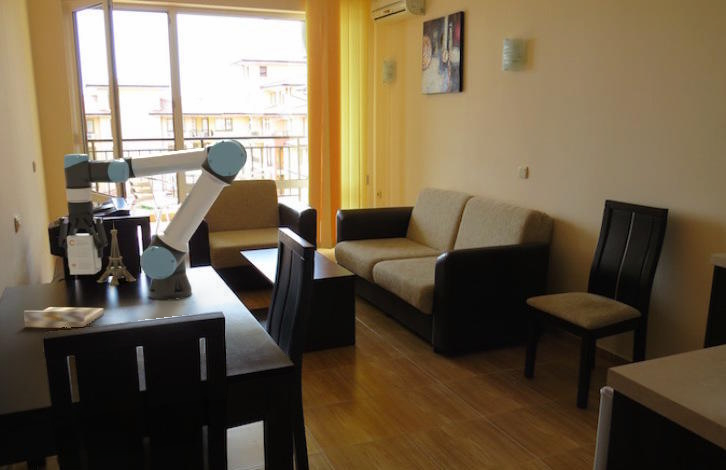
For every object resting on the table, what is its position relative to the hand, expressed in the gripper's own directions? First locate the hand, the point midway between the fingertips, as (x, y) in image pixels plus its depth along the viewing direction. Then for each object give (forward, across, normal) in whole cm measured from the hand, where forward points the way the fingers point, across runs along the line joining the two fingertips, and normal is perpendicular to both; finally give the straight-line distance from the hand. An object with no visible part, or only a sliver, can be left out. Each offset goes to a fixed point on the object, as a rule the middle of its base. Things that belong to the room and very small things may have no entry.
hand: (85, 266), depth 195 cm
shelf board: (+14, +1, +14) cm, 20 cm away
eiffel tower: (+15, +6, -35) cm, 38 cm away
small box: (+2, 0, 0) cm, 2 cm away
